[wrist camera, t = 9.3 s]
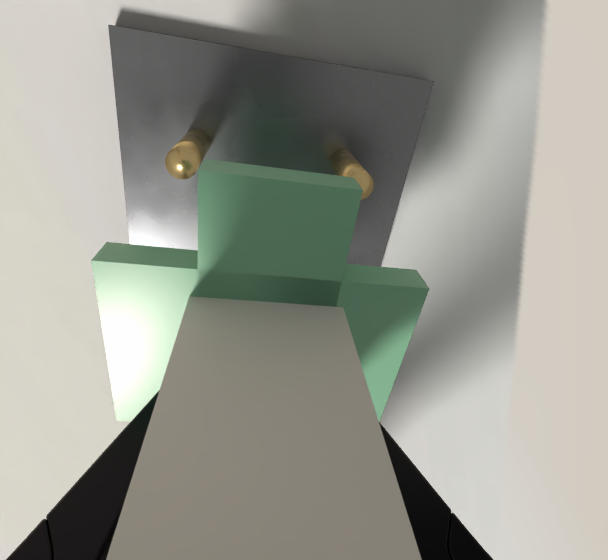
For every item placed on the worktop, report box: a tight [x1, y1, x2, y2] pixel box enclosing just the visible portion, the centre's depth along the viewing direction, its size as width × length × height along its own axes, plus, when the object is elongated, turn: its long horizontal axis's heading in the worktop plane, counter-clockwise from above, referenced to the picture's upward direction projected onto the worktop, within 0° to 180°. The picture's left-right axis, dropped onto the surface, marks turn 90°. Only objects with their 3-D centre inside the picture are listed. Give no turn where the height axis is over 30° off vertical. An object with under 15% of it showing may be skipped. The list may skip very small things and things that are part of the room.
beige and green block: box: [91, 159, 429, 560], centre depth 8 cm, size 10×8×8 cm
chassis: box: [108, 25, 434, 267], centre depth 16 cm, size 15×12×4 cm
